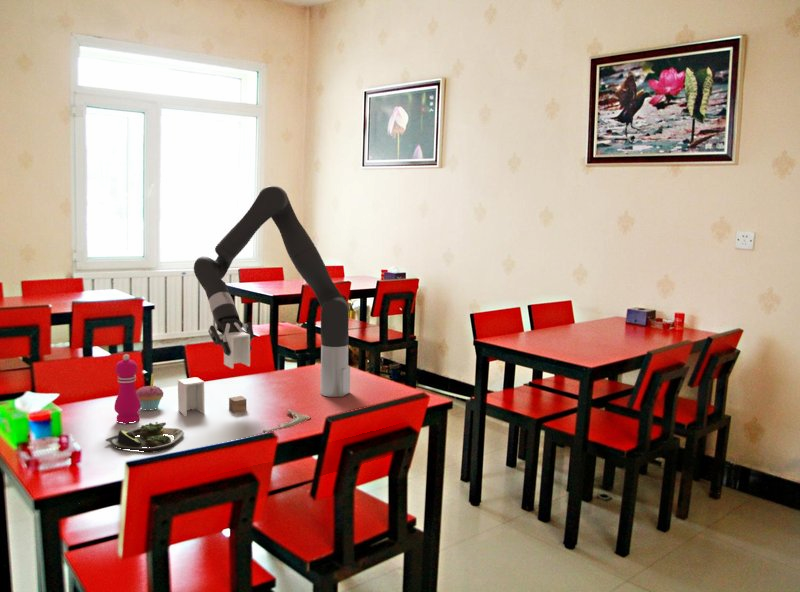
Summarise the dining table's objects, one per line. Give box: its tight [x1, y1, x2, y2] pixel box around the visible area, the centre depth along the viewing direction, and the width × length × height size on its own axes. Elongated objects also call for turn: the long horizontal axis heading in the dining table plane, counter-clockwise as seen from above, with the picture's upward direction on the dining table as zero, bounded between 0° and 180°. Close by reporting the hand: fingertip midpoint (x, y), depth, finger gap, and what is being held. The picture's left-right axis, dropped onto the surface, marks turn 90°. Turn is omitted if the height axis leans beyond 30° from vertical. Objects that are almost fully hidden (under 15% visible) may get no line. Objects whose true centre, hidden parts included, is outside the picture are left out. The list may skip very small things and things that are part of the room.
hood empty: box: [177, 376, 205, 417], centre depth 212 cm, size 6×6×10 cm
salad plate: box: [105, 421, 185, 453], centre depth 189 cm, size 19×18×5 cm
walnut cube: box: [228, 395, 247, 414], centre depth 216 cm, size 4×4×4 cm
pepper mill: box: [114, 354, 141, 423], centre depth 202 cm, size 7×7×20 cm
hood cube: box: [223, 331, 251, 369], centre depth 215 cm, size 6×6×10 cm
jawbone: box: [262, 408, 311, 433], centre depth 205 cm, size 9×20×2 cm, turn 169°
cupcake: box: [135, 372, 164, 410], centre depth 215 cm, size 9×8×12 cm
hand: (239, 352), depth 214 cm, fingers closed on hood cube, 6 cm apart
